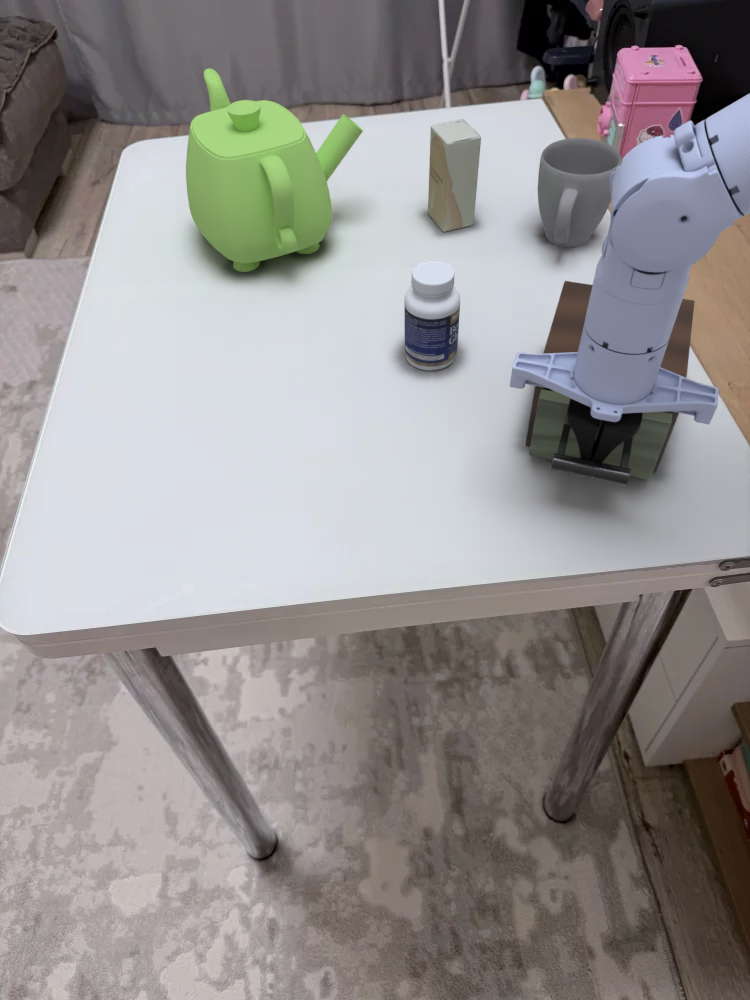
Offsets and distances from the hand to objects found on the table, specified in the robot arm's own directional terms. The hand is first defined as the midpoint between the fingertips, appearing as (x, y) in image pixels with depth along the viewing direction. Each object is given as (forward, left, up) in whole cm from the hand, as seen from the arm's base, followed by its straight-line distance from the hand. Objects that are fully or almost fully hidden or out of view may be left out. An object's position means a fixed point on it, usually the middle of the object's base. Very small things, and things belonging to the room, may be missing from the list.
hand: (589, 462), depth 61 cm
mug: (-11, -37, -4) cm, 39 cm away
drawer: (-3, -5, -3) cm, 7 cm away
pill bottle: (+9, -20, -4) cm, 23 cm away
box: (+1, -45, -4) cm, 46 cm away
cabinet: (-5, -9, -4) cm, 11 cm away
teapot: (+22, -48, -4) cm, 53 cm away
